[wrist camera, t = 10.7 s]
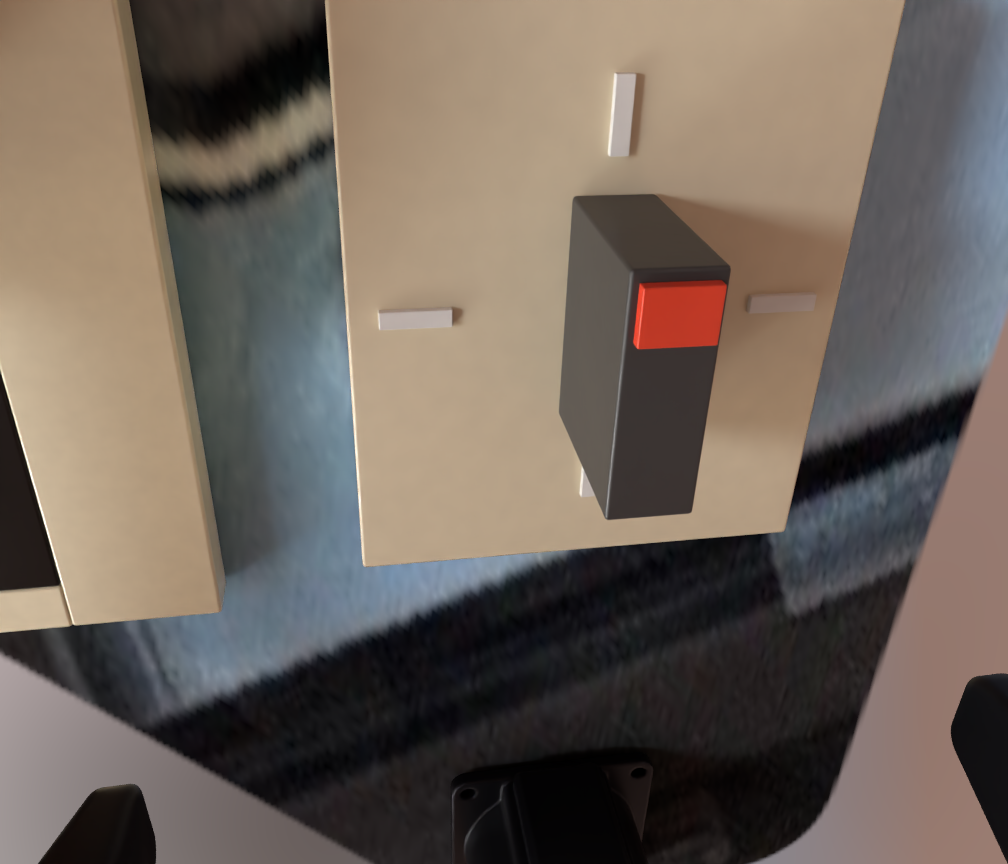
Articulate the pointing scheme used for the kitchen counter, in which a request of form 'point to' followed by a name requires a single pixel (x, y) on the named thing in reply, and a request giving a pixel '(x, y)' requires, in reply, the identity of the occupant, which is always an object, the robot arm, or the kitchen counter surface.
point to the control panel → (546, 240)
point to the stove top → (91, 340)
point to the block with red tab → (639, 351)
